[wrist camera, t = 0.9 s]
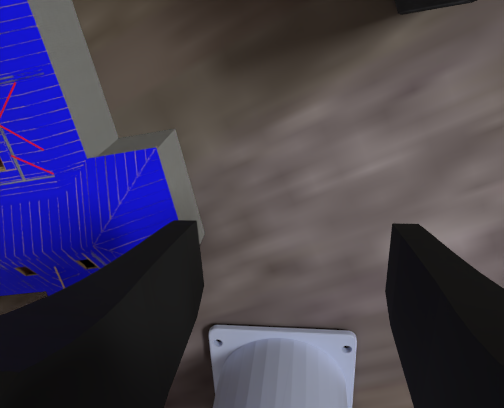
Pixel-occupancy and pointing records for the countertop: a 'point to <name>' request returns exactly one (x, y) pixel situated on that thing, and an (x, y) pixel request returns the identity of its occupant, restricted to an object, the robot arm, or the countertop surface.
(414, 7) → the ammunition clip
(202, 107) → the countertop surface
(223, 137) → the countertop surface
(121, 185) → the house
